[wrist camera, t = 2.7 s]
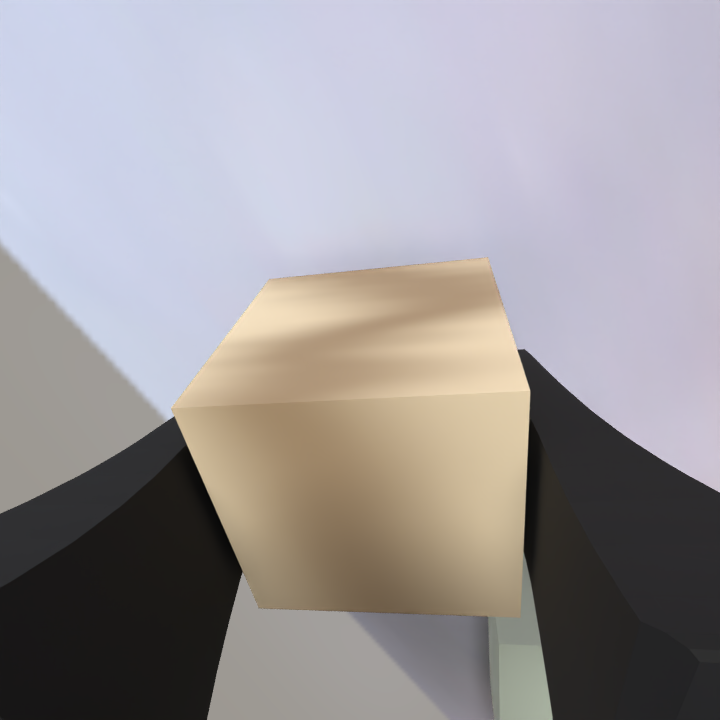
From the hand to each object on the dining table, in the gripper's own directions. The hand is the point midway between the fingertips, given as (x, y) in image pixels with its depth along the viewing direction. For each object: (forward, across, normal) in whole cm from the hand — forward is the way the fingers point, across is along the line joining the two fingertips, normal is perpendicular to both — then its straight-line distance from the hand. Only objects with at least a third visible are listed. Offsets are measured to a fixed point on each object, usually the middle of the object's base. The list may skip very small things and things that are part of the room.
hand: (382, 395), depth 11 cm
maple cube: (+2, 0, 0) cm, 2 cm away
